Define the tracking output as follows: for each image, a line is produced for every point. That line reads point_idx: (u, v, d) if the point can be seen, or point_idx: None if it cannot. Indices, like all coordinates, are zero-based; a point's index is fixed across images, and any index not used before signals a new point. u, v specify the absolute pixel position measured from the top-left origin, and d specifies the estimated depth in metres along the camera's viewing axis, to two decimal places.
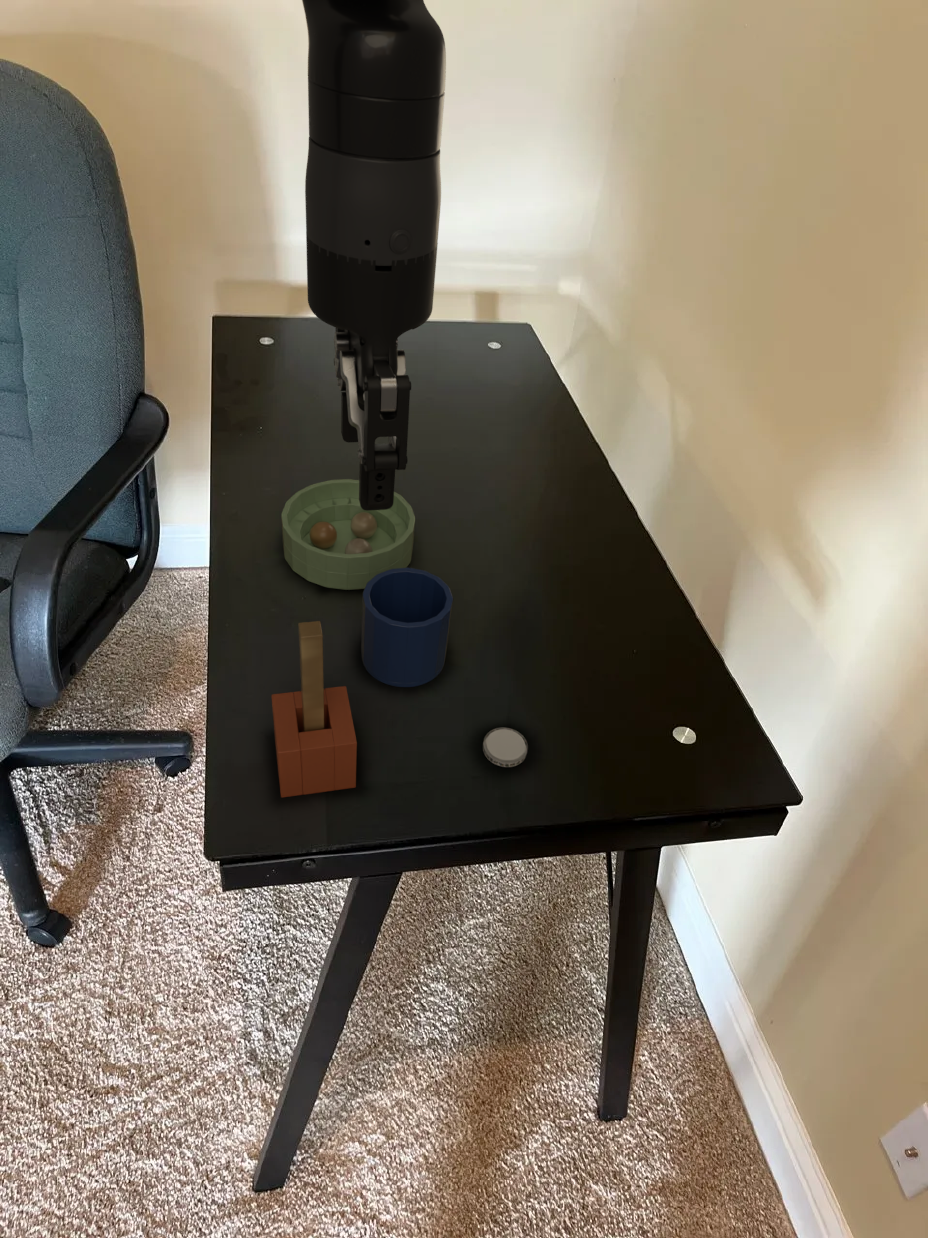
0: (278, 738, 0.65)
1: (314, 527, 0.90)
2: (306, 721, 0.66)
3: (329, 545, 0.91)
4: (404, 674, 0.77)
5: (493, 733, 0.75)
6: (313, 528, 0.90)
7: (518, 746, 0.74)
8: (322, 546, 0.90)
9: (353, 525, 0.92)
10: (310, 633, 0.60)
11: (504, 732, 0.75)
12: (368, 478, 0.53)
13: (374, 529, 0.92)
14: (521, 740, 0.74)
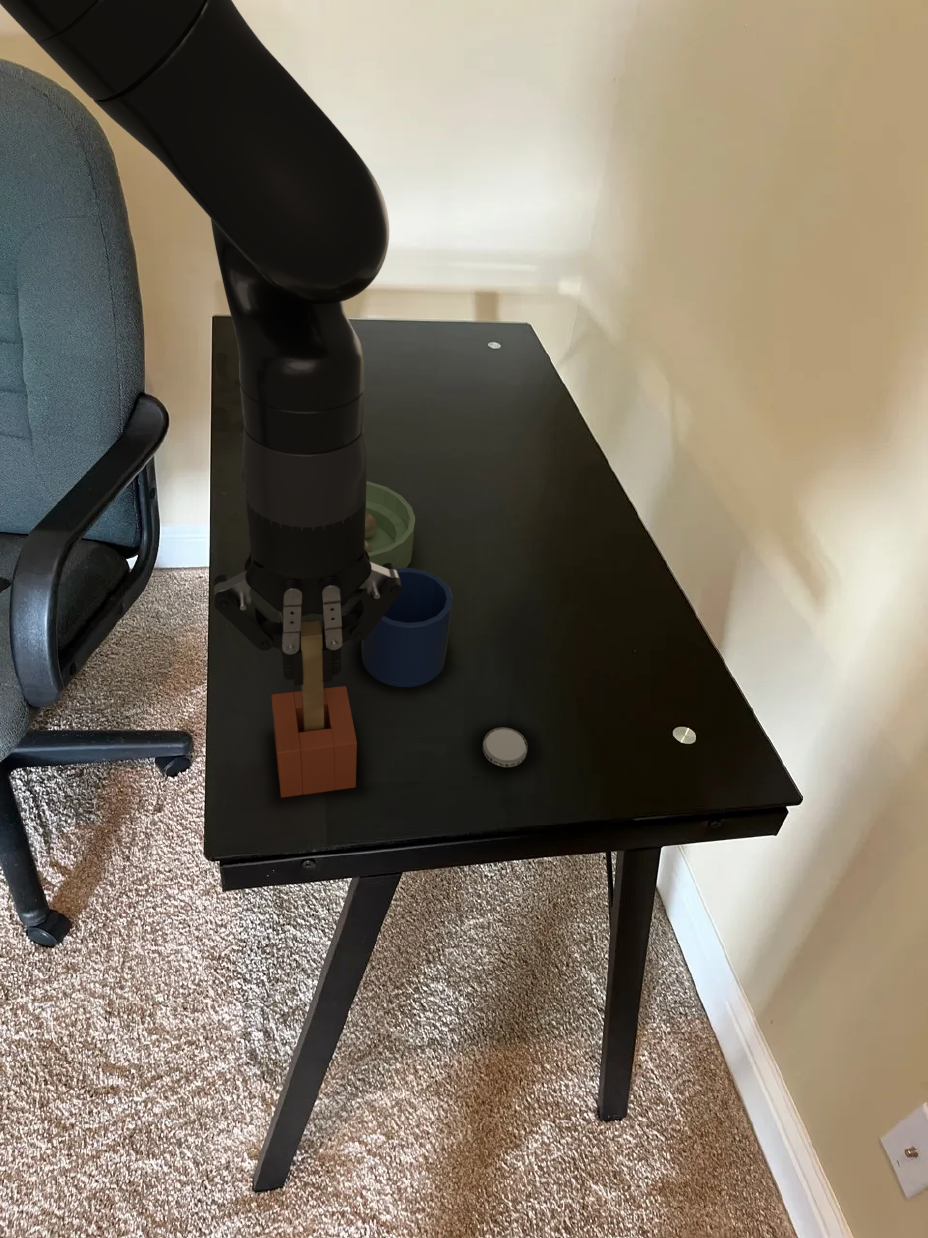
0: (278, 738, 0.65)
1: None
2: (306, 721, 0.66)
3: None
4: (404, 674, 0.77)
5: (493, 733, 0.75)
6: None
7: (518, 746, 0.74)
8: None
9: None
10: (310, 633, 0.60)
11: (504, 732, 0.75)
12: (336, 654, 0.62)
13: (374, 529, 0.92)
14: (521, 740, 0.74)
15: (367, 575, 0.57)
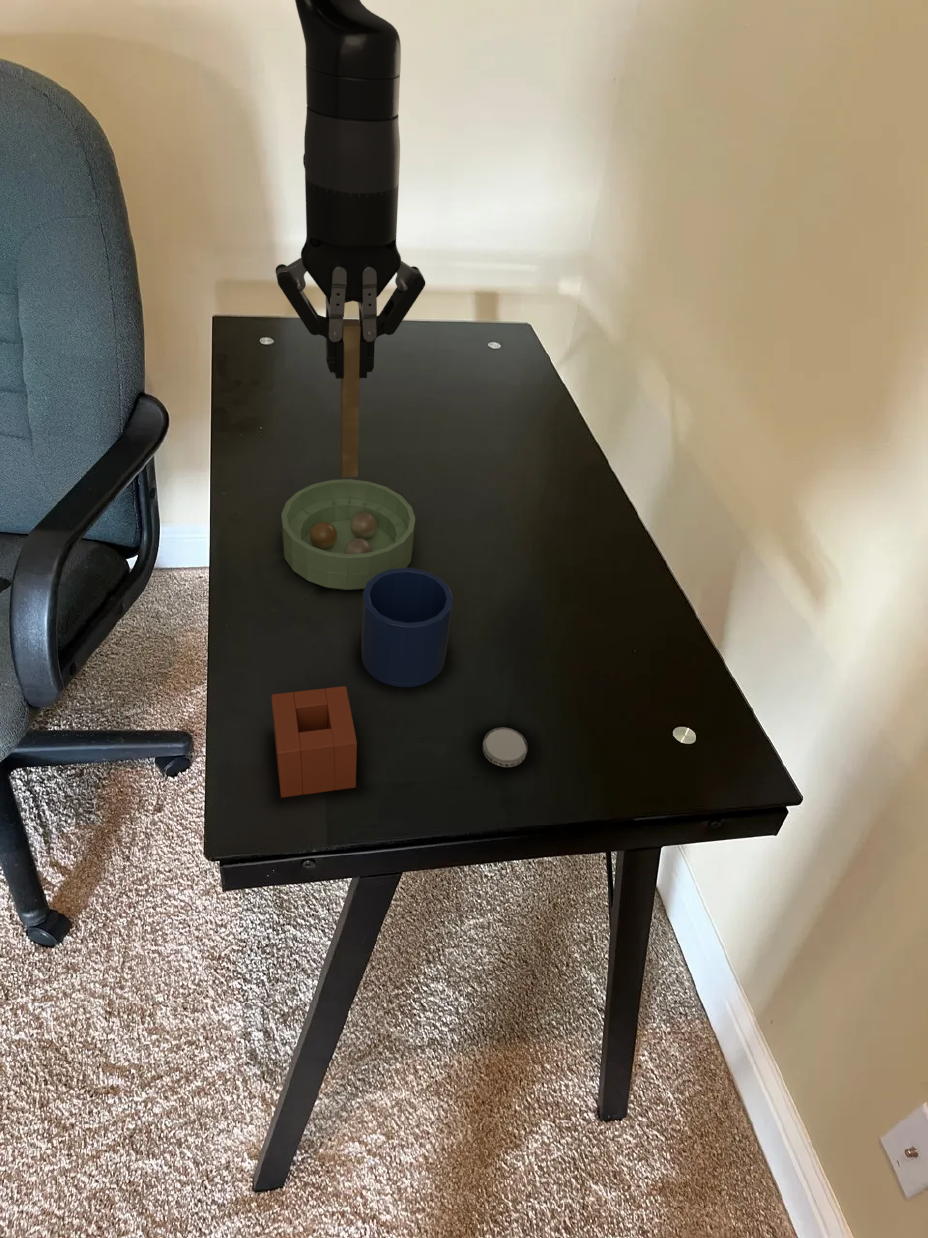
0: (278, 738, 0.65)
1: (314, 527, 0.90)
2: (344, 419, 0.80)
3: (329, 545, 0.91)
4: (404, 674, 0.77)
5: (493, 733, 0.75)
6: (313, 528, 0.90)
7: (518, 746, 0.74)
8: (322, 546, 0.90)
9: (353, 525, 0.92)
10: (350, 325, 0.74)
11: (504, 732, 0.75)
12: (370, 349, 0.76)
13: (374, 529, 0.92)
14: (521, 740, 0.74)
15: (397, 265, 0.71)
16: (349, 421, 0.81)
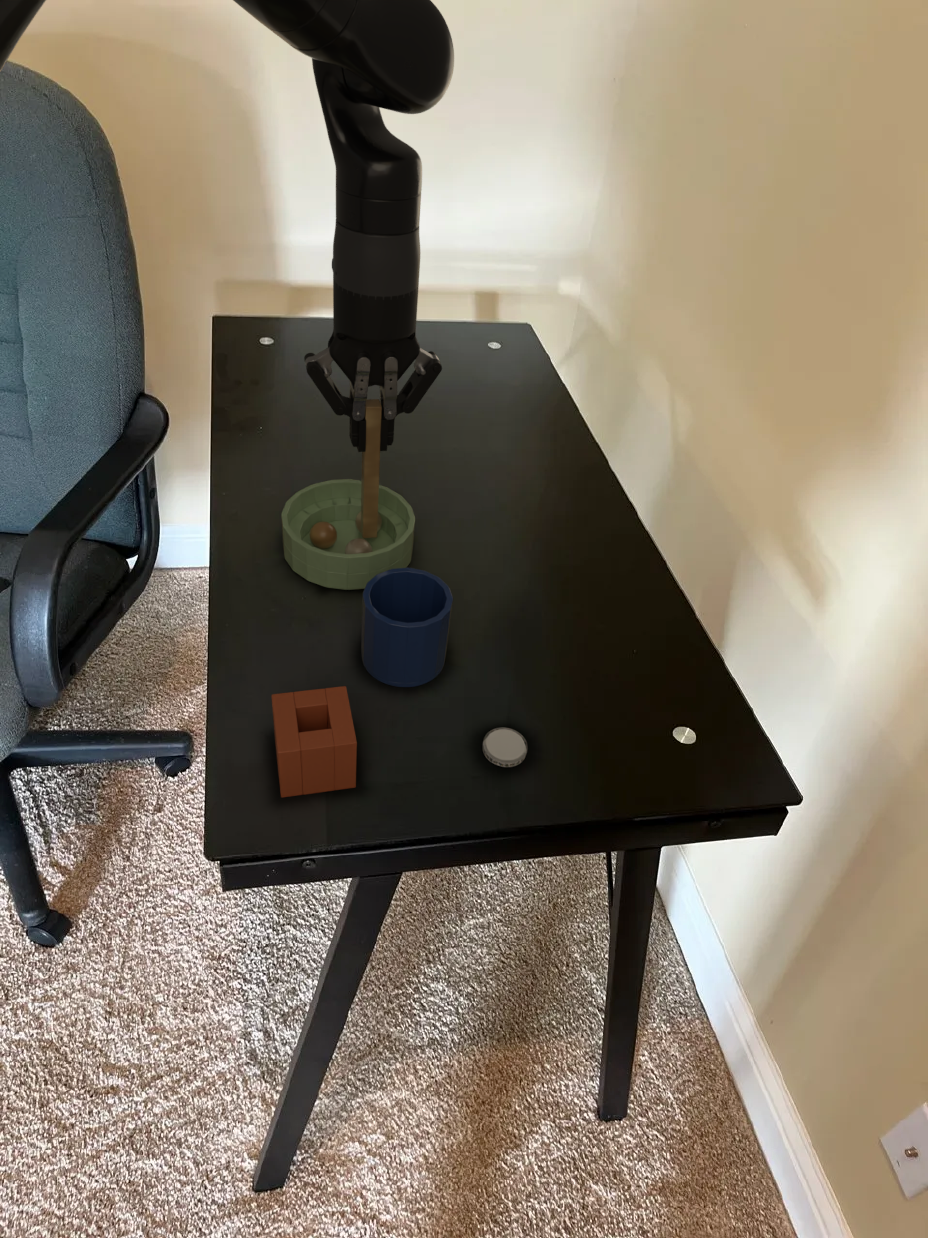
0: (278, 738, 0.65)
1: (314, 527, 0.90)
2: (365, 487, 0.86)
3: (329, 545, 0.91)
4: (404, 674, 0.77)
5: (493, 733, 0.75)
6: (313, 528, 0.90)
7: (518, 746, 0.74)
8: (322, 546, 0.90)
9: (360, 515, 0.93)
10: (372, 405, 0.80)
11: (504, 732, 0.75)
12: (390, 426, 0.82)
13: (379, 525, 0.93)
14: (521, 740, 0.74)
15: (417, 353, 0.77)
16: (370, 489, 0.87)
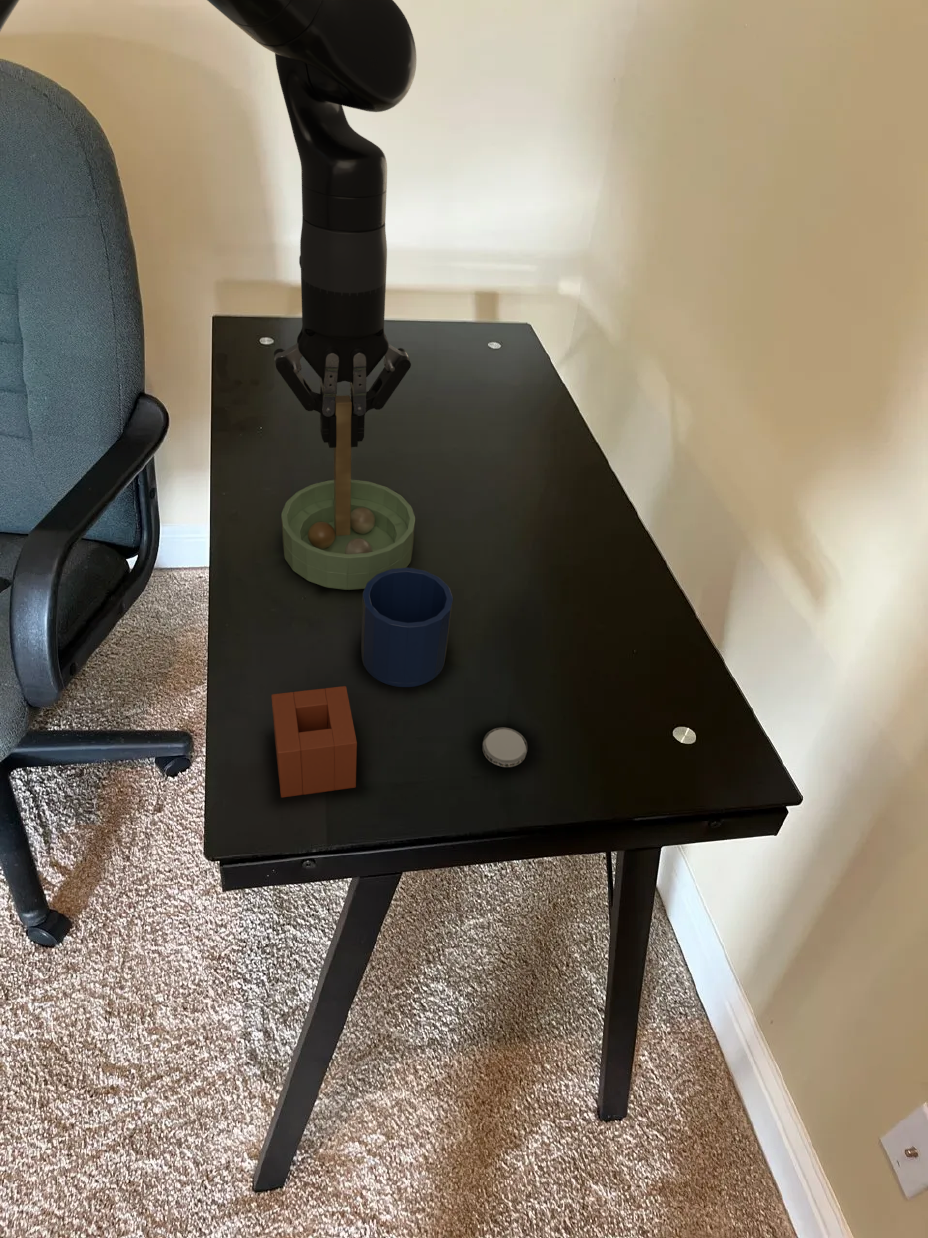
0: (278, 738, 0.65)
1: (311, 528, 0.90)
2: (337, 484, 0.87)
3: (328, 545, 0.90)
4: (404, 674, 0.77)
5: (493, 733, 0.75)
6: (310, 529, 0.90)
7: (518, 746, 0.74)
8: (321, 547, 0.90)
9: (351, 514, 0.93)
10: (342, 401, 0.81)
11: (504, 732, 0.75)
12: (361, 422, 0.83)
13: (370, 523, 0.93)
14: (521, 740, 0.74)
15: (385, 349, 0.78)
16: (342, 485, 0.87)
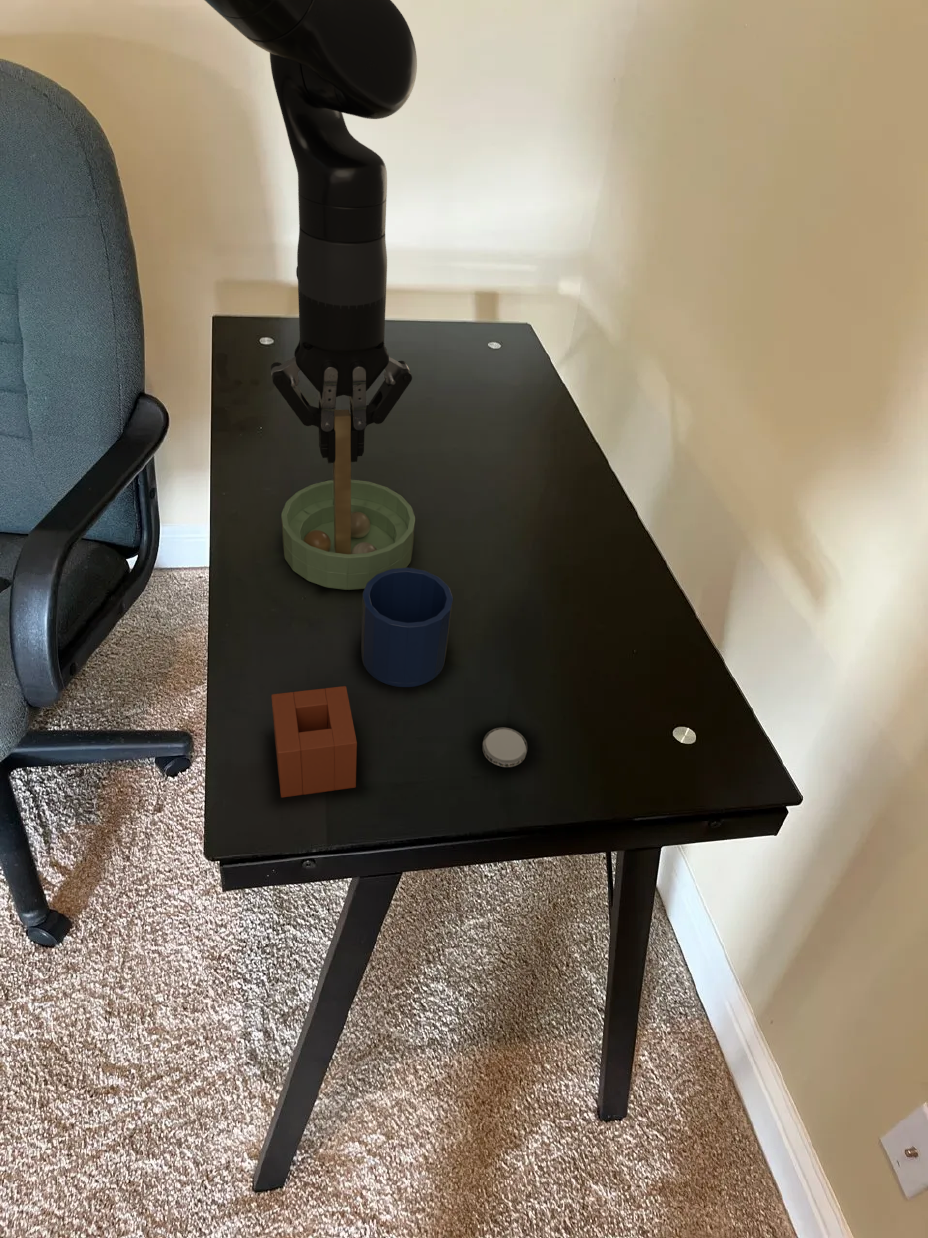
0: (278, 738, 0.65)
1: None
2: (337, 501, 0.84)
3: None
4: (404, 674, 0.77)
5: (493, 733, 0.75)
6: None
7: (518, 746, 0.74)
8: None
9: None
10: (341, 415, 0.79)
11: (504, 732, 0.75)
12: (361, 436, 0.81)
13: (364, 531, 0.92)
14: (521, 740, 0.74)
15: (386, 362, 0.76)
16: (341, 503, 0.84)
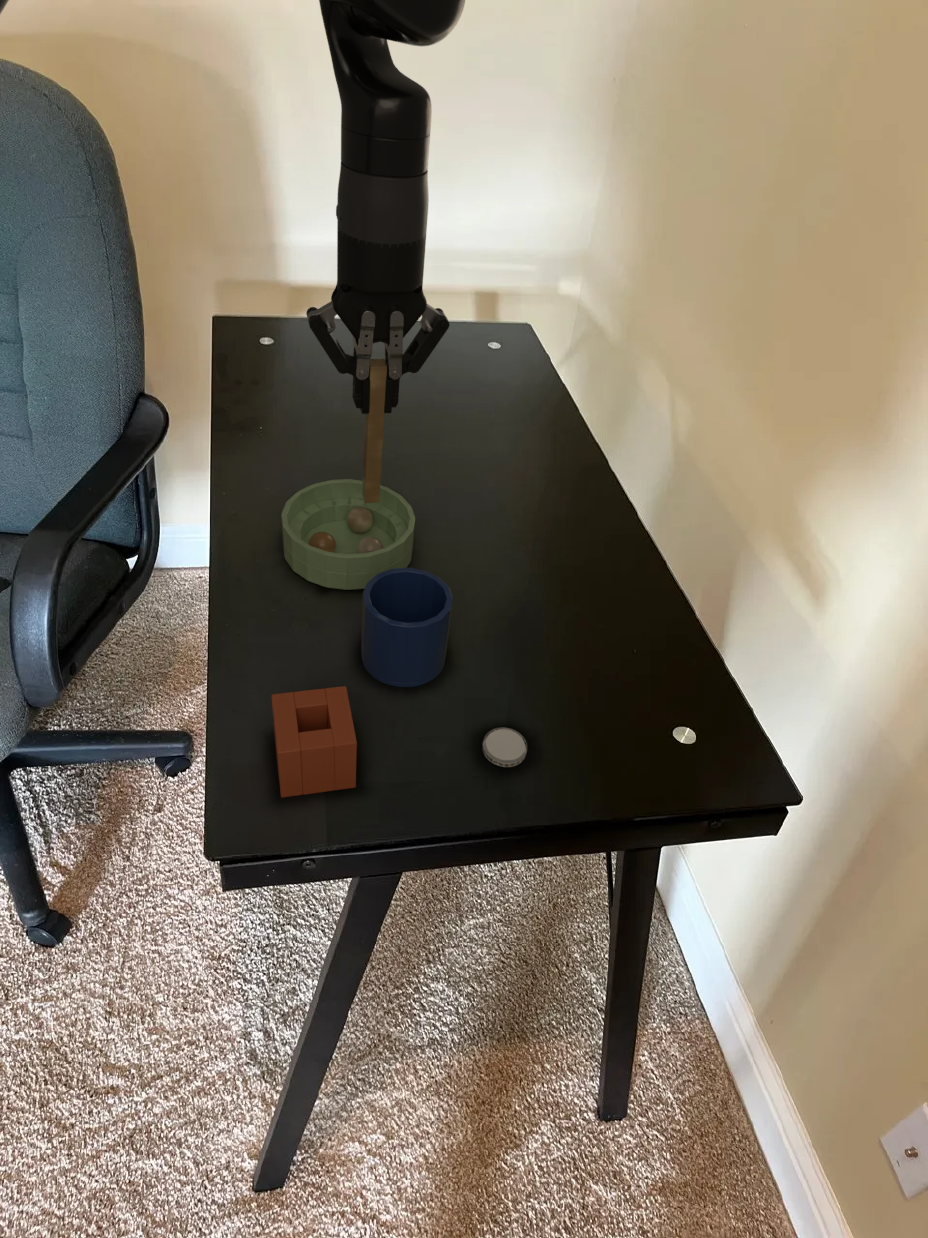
0: (278, 738, 0.65)
1: (315, 534, 0.90)
2: (368, 451, 0.84)
3: None
4: (404, 674, 0.77)
5: (493, 733, 0.75)
6: (314, 534, 0.90)
7: (518, 746, 0.74)
8: None
9: (348, 514, 0.93)
10: (377, 365, 0.77)
11: (504, 732, 0.75)
12: (395, 386, 0.79)
13: (368, 521, 0.93)
14: (521, 740, 0.74)
15: (423, 308, 0.74)
16: (373, 452, 0.84)
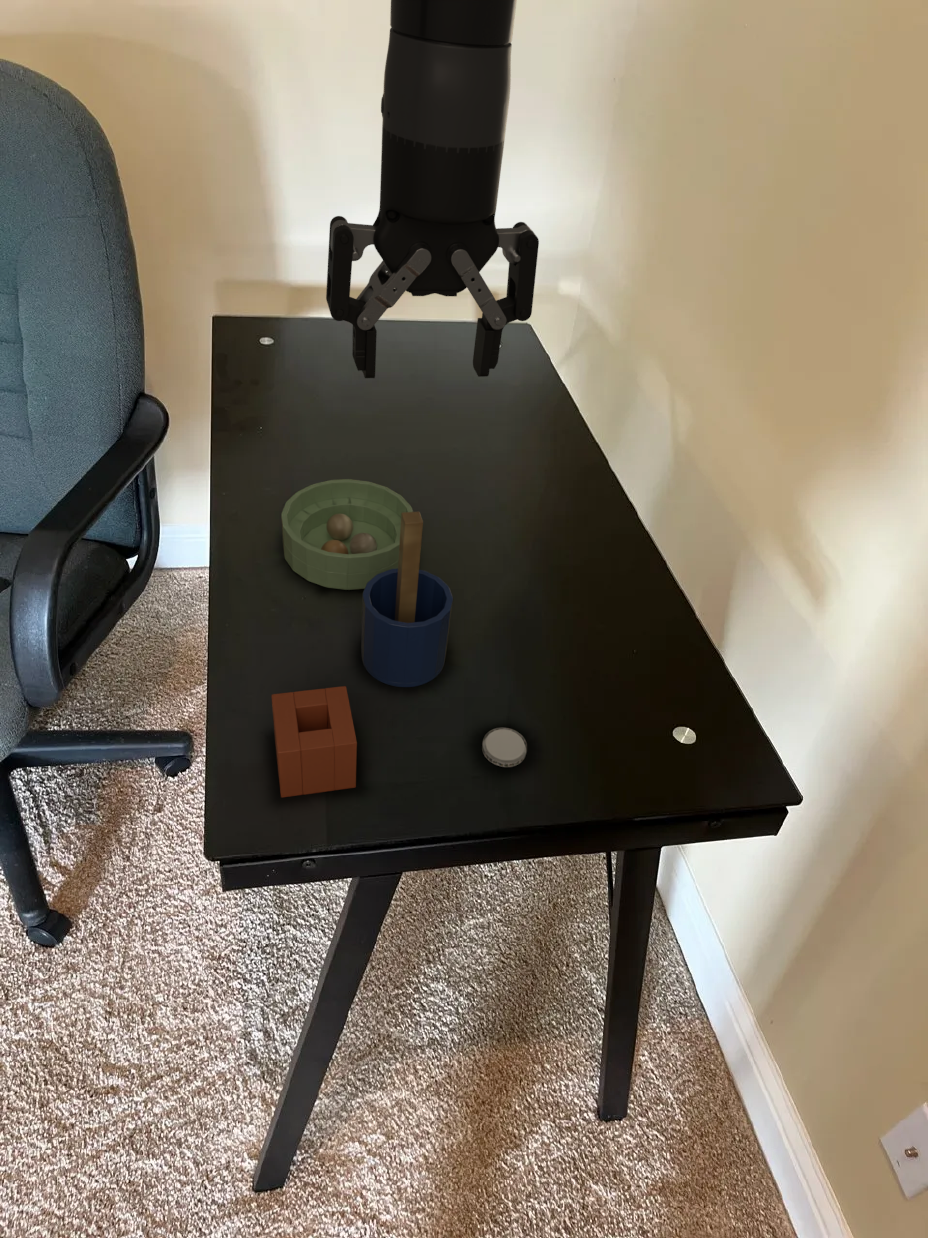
0: (278, 738, 0.65)
1: (336, 544, 0.88)
2: (401, 605, 0.76)
3: None
4: (404, 674, 0.77)
5: (492, 733, 0.75)
6: (335, 544, 0.88)
7: (517, 746, 0.74)
8: None
9: None
10: (412, 520, 0.70)
11: (504, 732, 0.75)
12: (496, 340, 0.60)
13: (344, 529, 0.91)
14: (520, 740, 0.74)
15: (495, 247, 0.55)
16: (406, 606, 0.76)
